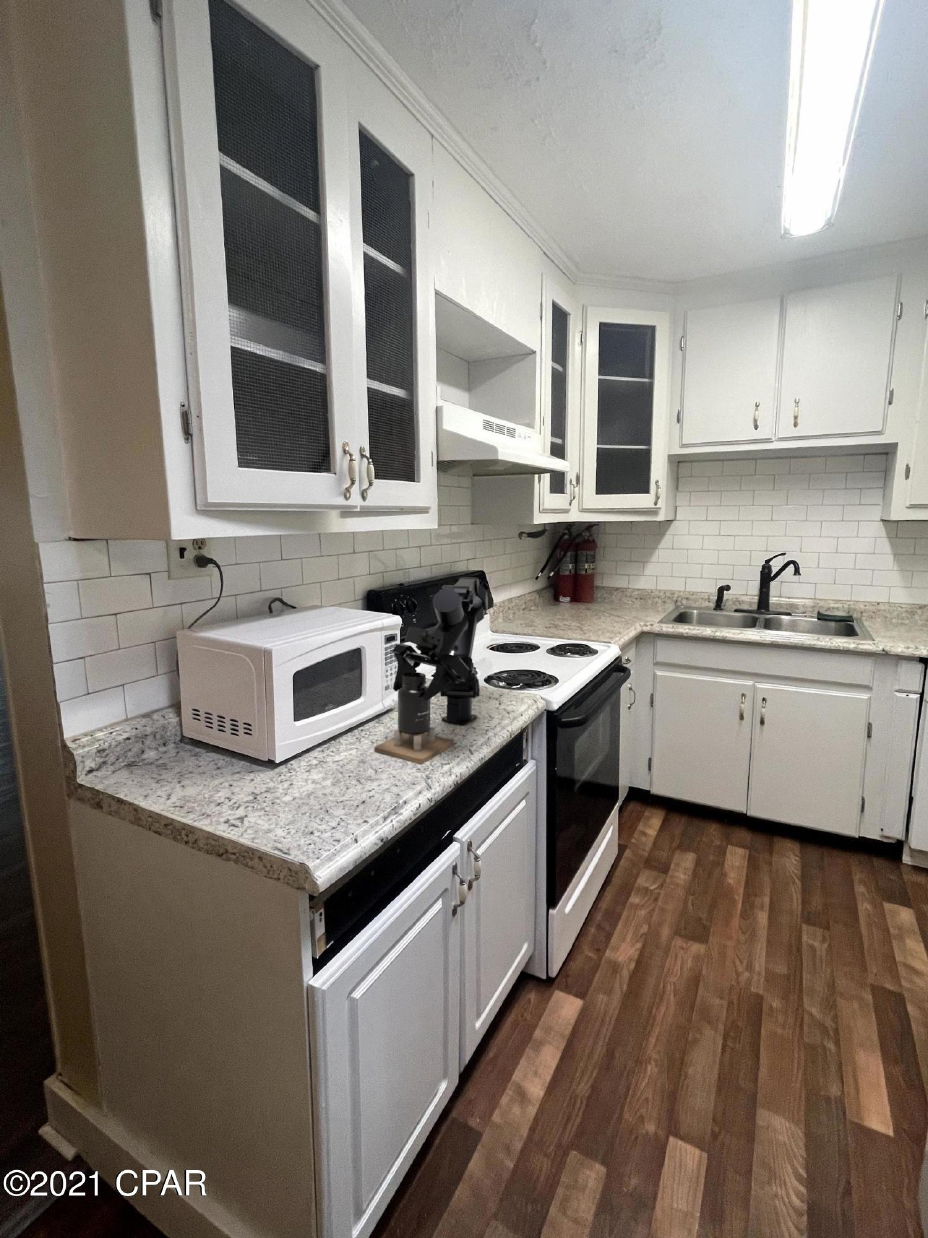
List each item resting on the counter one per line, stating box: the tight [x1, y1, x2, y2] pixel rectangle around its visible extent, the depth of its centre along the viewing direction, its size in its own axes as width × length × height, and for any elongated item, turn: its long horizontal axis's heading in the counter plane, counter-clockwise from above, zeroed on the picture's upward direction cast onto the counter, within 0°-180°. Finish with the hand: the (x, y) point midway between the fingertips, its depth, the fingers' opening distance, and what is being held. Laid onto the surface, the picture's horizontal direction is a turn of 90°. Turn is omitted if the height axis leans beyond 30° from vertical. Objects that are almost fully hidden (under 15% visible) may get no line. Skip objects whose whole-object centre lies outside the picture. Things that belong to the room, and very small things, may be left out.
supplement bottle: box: [397, 671, 431, 735], centre depth 123 cm, size 7×7×12 cm
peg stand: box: [374, 726, 455, 765], centre depth 124 cm, size 12×12×4 cm
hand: (409, 694), depth 122 cm, fingers open, 9 cm apart
